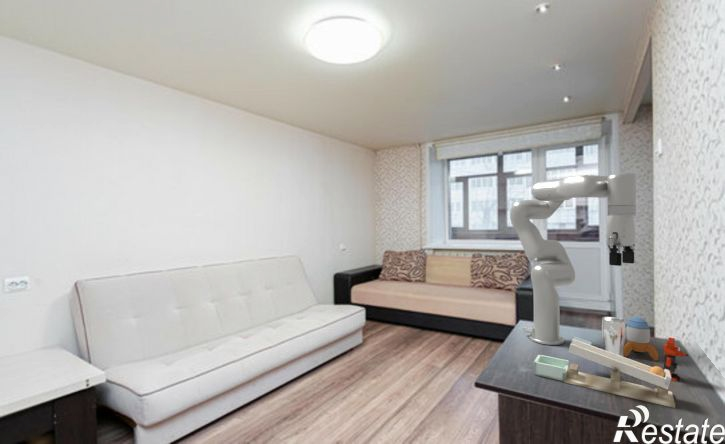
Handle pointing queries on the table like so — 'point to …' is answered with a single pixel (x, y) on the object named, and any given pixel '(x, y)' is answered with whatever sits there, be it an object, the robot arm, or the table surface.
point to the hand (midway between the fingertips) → (622, 264)
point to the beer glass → (614, 334)
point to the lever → (619, 363)
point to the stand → (619, 386)
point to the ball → (657, 371)
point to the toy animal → (672, 358)
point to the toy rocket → (639, 338)
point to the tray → (551, 367)
